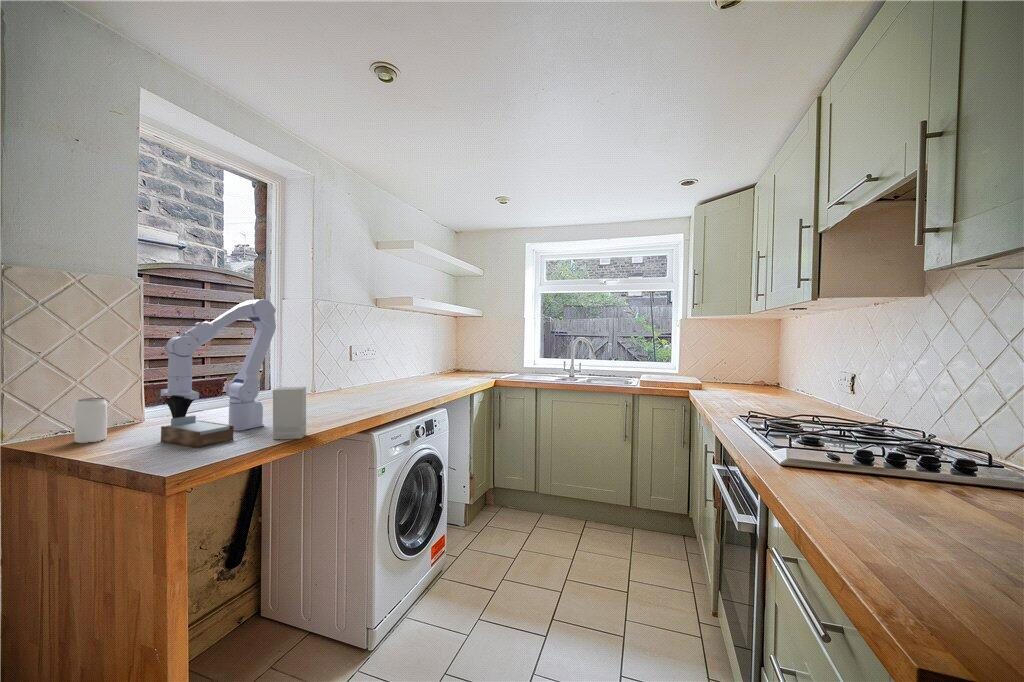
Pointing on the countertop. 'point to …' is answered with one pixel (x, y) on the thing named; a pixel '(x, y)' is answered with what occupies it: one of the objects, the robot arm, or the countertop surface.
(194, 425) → the cover plate
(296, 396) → the skincare box
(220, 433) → the walnut box
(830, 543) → the countertop surface
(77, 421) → the can
